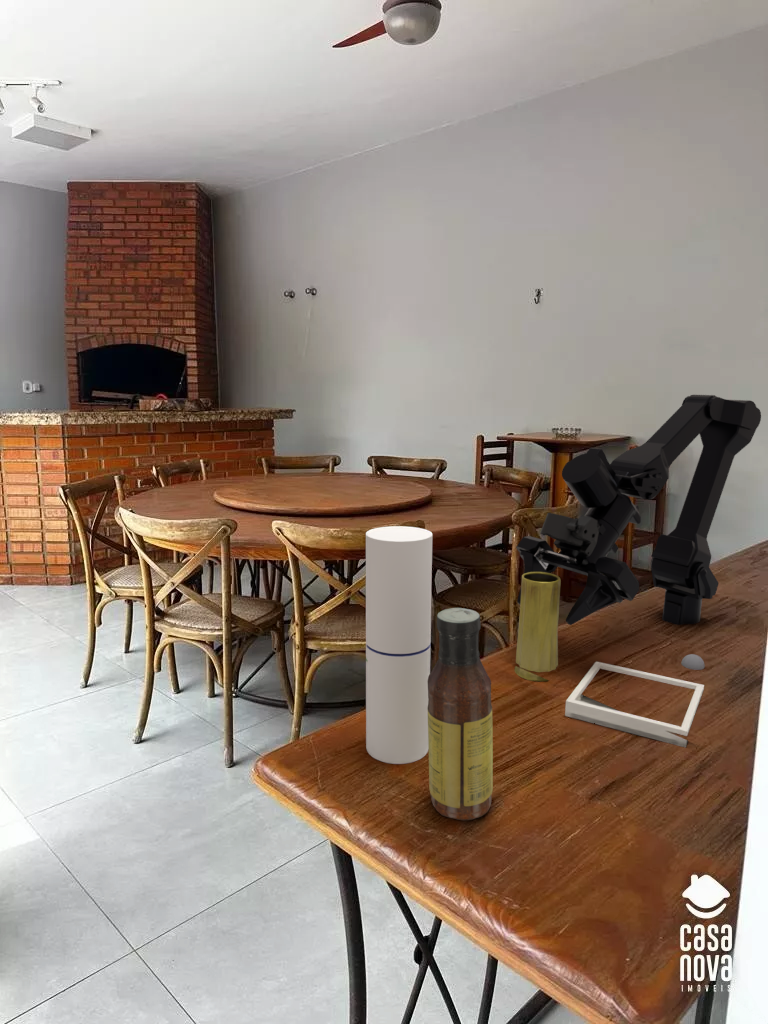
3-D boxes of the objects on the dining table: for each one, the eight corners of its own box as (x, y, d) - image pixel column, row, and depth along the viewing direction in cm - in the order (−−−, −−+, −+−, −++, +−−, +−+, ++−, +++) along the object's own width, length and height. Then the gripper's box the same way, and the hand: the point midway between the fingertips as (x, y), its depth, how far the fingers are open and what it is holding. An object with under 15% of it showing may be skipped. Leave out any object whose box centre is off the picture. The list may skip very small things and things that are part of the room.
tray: (595, 674, 97) (596, 661, 97) (702, 699, 90) (704, 685, 90) (565, 715, 85) (565, 700, 85) (685, 747, 78) (687, 731, 78)
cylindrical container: (384, 770, 74) (384, 544, 69) (355, 739, 80) (354, 530, 75) (440, 753, 77) (445, 536, 72) (409, 725, 83) (411, 523, 78)
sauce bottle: (490, 787, 71) (497, 604, 67) (493, 826, 65) (501, 627, 61) (426, 783, 71) (429, 601, 67) (424, 822, 65) (427, 624, 61)
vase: (549, 686, 94) (555, 586, 91) (507, 675, 97) (511, 578, 94) (563, 670, 99) (569, 574, 96) (523, 660, 102) (527, 568, 99)
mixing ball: (687, 668, 99) (689, 649, 99) (707, 675, 97) (709, 655, 96) (676, 674, 97) (678, 654, 97) (696, 681, 95) (698, 661, 95)
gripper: (528, 483, 104) (469, 564, 100) (632, 503, 88) (568, 599, 84) (561, 528, 109) (507, 606, 105) (664, 554, 94) (605, 646, 90)
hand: (542, 613), depth 96 cm, fingers open, 9 cm apart
